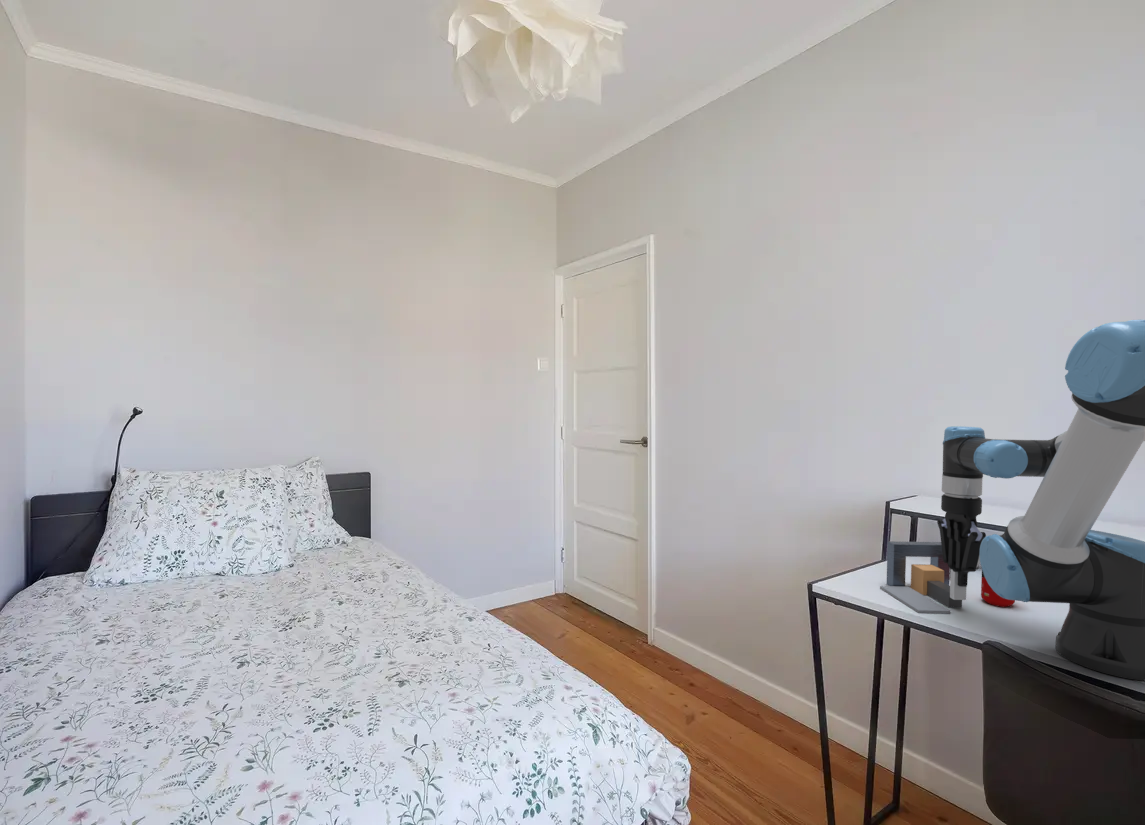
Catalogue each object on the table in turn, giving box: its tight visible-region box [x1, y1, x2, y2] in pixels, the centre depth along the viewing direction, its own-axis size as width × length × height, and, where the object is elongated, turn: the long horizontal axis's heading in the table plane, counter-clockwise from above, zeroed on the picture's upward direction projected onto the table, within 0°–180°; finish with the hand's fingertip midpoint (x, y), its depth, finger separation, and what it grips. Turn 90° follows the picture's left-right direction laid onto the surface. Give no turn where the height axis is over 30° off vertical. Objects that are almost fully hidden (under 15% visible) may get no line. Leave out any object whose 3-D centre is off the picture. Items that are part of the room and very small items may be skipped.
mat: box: [879, 585, 951, 615], centre depth 133 cm, size 16×7×1 cm, turn 179°
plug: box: [910, 563, 963, 609], centre depth 135 cm, size 13×5×6 cm, turn 179°
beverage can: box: [980, 570, 1016, 608], centre depth 131 cm, size 6×6×12 cm
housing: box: [886, 541, 950, 586], centre depth 143 cm, size 3×14×11 cm, turn 89°
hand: (957, 598), depth 128 cm, fingers closed
